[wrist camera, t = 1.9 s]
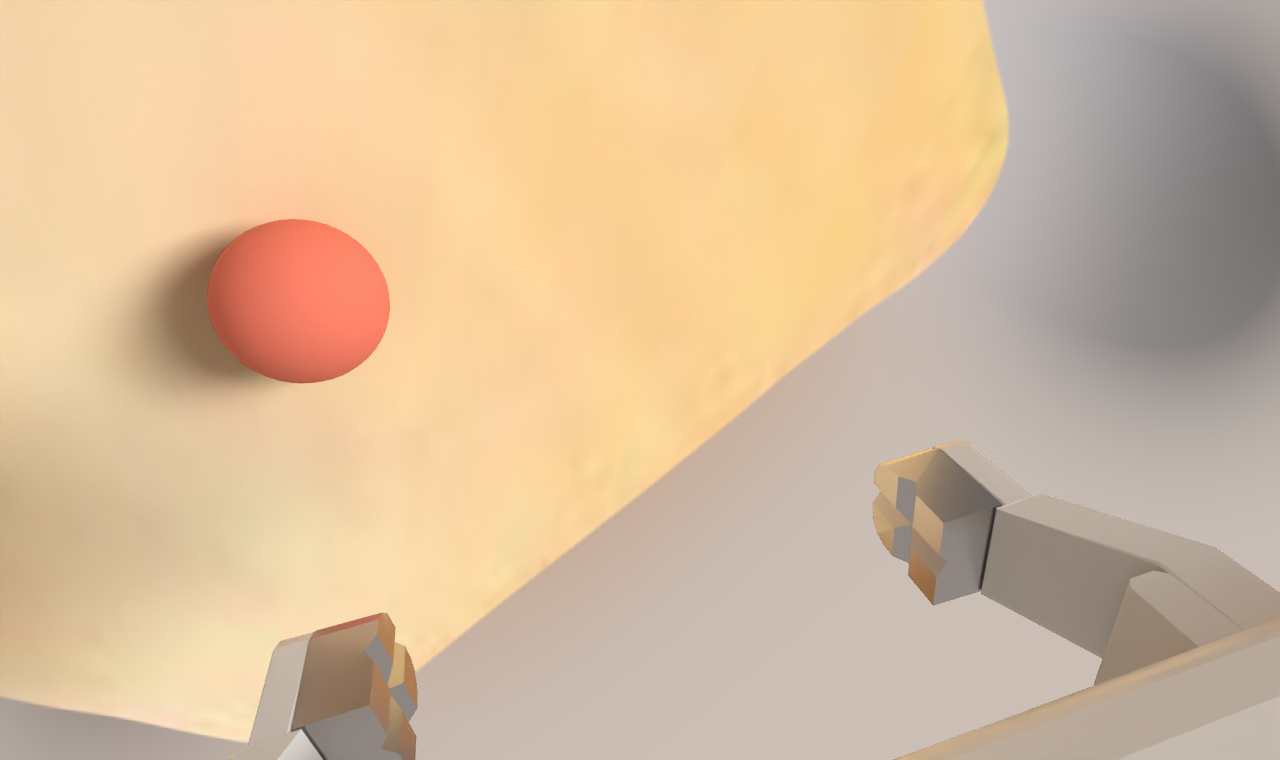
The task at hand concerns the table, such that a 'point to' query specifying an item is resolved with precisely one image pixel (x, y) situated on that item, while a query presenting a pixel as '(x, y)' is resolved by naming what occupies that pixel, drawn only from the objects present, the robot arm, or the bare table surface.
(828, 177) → the table surface
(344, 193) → the table surface
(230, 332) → the ball
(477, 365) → the table surface
